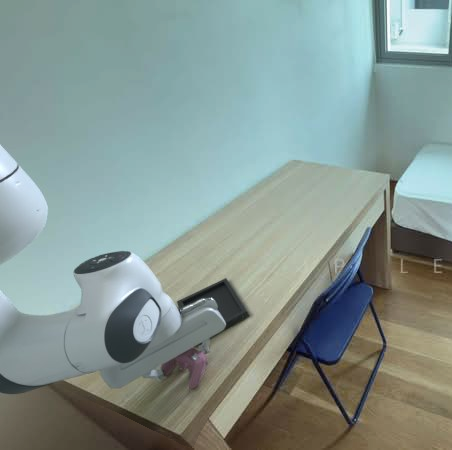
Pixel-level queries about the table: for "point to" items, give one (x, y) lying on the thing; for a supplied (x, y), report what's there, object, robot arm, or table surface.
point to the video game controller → (189, 365)
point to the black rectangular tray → (220, 302)
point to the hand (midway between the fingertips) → (184, 364)
